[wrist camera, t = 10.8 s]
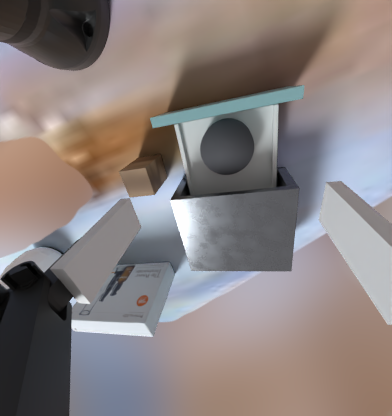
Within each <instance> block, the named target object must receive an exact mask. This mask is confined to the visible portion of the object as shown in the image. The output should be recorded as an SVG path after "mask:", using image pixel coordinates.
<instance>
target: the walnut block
mask: <svg viewBox="0 0 392 416" xmlns="http://www.w3.org/2000/svg"><path fill="white" fill-rule="evenodd" d="M119 173H120V176H121V178H122V180H123V183H124V185H125V187H126V190H127V192H128V194H129V197H138V196H147V195H155V194H156V192H157V191H158V190H159V188H160V187H161V186H162V184H163V183H164V181H165V180H166V179H167V174H166V171H165V167H164V164H163V161H162V157H161V154H159V155H153V156H146V157H140V158H137V159H136V160H134V161H133V162H132V163H130V164H129V165H127V166H126V167H125V168H123V169H122V170H121V171H119Z"/></svg>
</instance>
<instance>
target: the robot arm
mask: <svg viewBox="0 0 392 416" xmlns="http://www.w3.org/2000/svg"><path fill="white" fill-rule="evenodd" d="M108 29H109V3H108V0H0V42H4V43H7V44H9V45H11V46H13V47H14V48H16V49H18V50H20V51H21V52H23V53H25V54H27V55H29V56H31V57H33V58H35V59H36V60H38V61H39V62H41V63H43V64H45V65H47V66H50V67H53V68H57V69H64V70H81V69H85V68H87V67H89V66H90V65H92V64H93V63H94V62H95V61H96V60H97V59H98V57H99V56H100V54H101V53H102V51H103V48H104V46H105V43H106V40H107V35H108ZM319 221H320V223H321V224H322V226H323V228H324V229H325V231H326V232H327V234H328V235H329V237H330V238H331V240H332V241H333V242H334V244H335V246H336V247H337V249H338V250H339V251H340V253H341V255H342V256H343V258H344V259H345V261H346V262H347V264H348V265H349V267H350V268H351V270H352V271H353V273H354V274H355V276H356V277H357V279H358V280H359V282H360V283H361V285H362V286H363V288H364V289H365V291H366V292H367V294H368V296H369V297H370V299H371V300H372V302H373V303H374V305H375V306H376V308H377V309H378V311H379V312H380V314H381V315H382V317H383V318H384V320H385V321H386V323H387V324H388V325H392V224H391V223H390V222H389V221H388V220H386V219H385V218H384V217H383V216H382V215H380V214H379V213H378V212H377V211H376V210H375V209H373V208H372V207H371V206H370V205H369V204H367V203H366V202H365V201H364V200H363V199H362V198H360V197H359V196H358V195H357V194H356V193H354V192H353V191H352V190H351V189H350V188H349V187H347V186H346V185H345V184H344V183H343V182H341V181H337V182H326V186H325V191H324V196H323V201H322V206H321V211H320V216H319ZM140 228H141V225H140V223H139V220H138V218H137V215H136V213H135V210H134V208H133V205H132V203H131V200H130V198H127V199H120V200H119V201H118V202H117V203H116V204H115V205H114V206H113V207H112V208H111V209H110V210H109V211H108V212H107V213H106V214H105V215H104V216H103V217H102V218H101V219H100V220H99V221H98V222H97V223H96V224H95V225H94V226H93V227H92V228H91V229H90V230H89V231H88V232H87V233H86V234H85V235H84V236H83V237H81V238H80V239H79V240H77V241H76V242H75V243H74V244H73V245H72V246H71V247H70V249H68V250H67V251H66V252H65V254H63V255H62V256H61V257H60V258H59V259H57V260H56V261H55V262H54V263H53V264H52V265H51V266H50V267H49V268H48V269H47V270H46V271H45V272H43V271H42V270H41V269H40V268H39V267H38V266H37V265H36V263H35V262H33V261H26V262H23V263H21V264H19V265H17V266H15V267H13V268H12V269H10V270H9V271H7V272H6V273H5V274H4V275H3V276H2V278H1V279H0V280H1V281H3V282H4V283H5V284H6V285H7V286H8V287H9V289H6V288H5V287H4V286H3V285H1V284H0V416H69V402H70V401H69V400H70V362H71V323H72V305H71V303H70V302H69V301H70V300H71V298H72V297H74V298H75V299H76V301H77V302H78V303H84V304H91V303H92V301H93V300H94V298H95V297H96V295H97V294H98V292H99V290H100V289H101V287H102V286H103V284H104V283H105V281H106V280H107V278H108V277H109V275H110V274H111V272H112V271H113V269H114V268H115V266H116V265H117V263H118V262H119V260H120V259H121V257H122V256H123V254H124V253H125V251H126V250H127V248H128V247H129V245H130V244H131V242H132V241H133V239H134V238H135V236H136V234H137V233H138V231H139V230H140Z"/></svg>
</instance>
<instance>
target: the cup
mask: <svg viewBox="0 0 392 416" xmlns="http://www.w3.org/2000/svg"><path fill="white" fill-rule="evenodd" d="M62 255H63V254H61V253H60V252H58V251H57V250H54V249H52V248H46V247H38V248H34V249H32V250H29V251H26V252H24V253H23V254H22V255H20V256H19V257H18V258H16V259H15V260H14V261H13V262H12V263H11V264H10V265H9V266H7V267H6V268H5V270H4V271H3V273H2V275H1V276H0V279H1V278H2V276H3V275H4V274H5V273H6V272H7V271H9V270H10V269H12V268H13V267H15V266H17V265H19V264H21V263H23V262H26V261H33V262H35V263H36V265H37V266H38V267H39V268H40V269H41V270H42V271H43V272H45V271H46V270H47V269H48V268H49V267H50V266H51V265H52V264H53V263H54V262H55V261H56V260H57V259H59V258H60V257H61V256H62ZM0 284H1V285H3V286H4V287H5V288H6V289H9V287H8V286H7V285H6V284H5V283H4V282H3V281H1V280H0Z"/></svg>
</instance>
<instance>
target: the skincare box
mask: <svg viewBox="0 0 392 416" xmlns="http://www.w3.org/2000/svg"><path fill="white" fill-rule="evenodd" d="M174 276H175V273H174V271H173V268H172V266H171V264H170V262H163V263H144V264H126V265H116V266H115V268H114V269H113V271H112V272H111V274H110V275H109V277H108V278H107V280H106V281H105V283H104V284H103V286H102V287H101V289H100V290H99V292H98V294H97V295H96V297H95V298H94V300H93V301H92V303H91V304H84V303H78V302H76V304H75V305H74V306H73V307H72V323H71V328H72V329H73V330H74V331H79V332H93V333H107V334H123V335H135V336H149V337H153V336H154V334H155V330H156V327H157V324H158V321H159V318H160V315H161V312H162V310H163V307H164V305H165V302H166V299H167V296H168V292H169V290H170V287H171V284H172V281H173V278H174Z"/></svg>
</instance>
